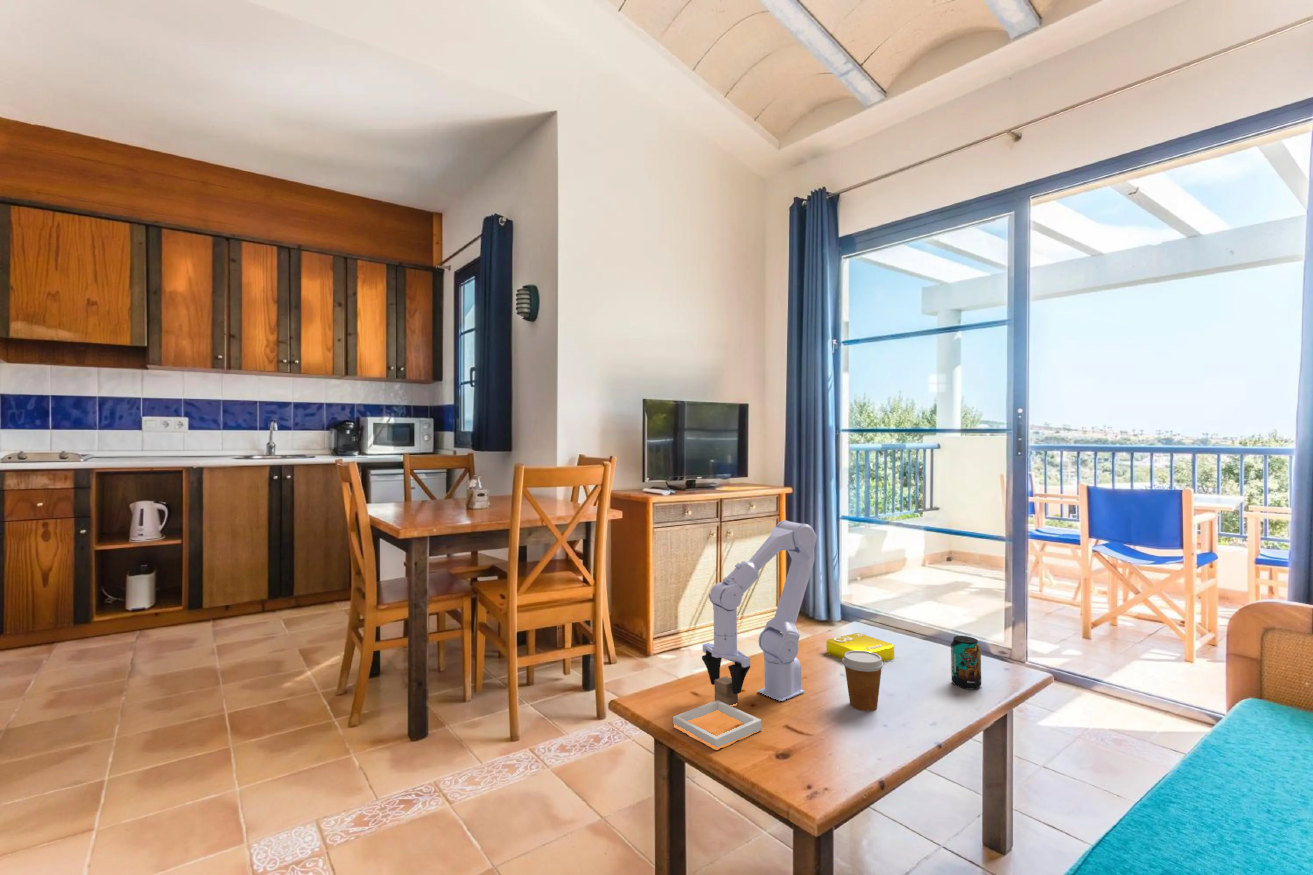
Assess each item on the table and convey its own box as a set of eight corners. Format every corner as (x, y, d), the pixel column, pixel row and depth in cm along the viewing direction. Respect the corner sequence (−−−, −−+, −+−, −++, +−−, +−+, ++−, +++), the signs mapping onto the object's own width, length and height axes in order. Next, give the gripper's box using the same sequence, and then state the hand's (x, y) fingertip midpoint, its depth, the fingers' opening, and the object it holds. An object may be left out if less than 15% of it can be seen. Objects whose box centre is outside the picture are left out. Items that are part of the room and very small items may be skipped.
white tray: (717, 710, 146) (717, 699, 146) (761, 731, 135) (761, 719, 135) (673, 727, 137) (672, 716, 137) (716, 751, 126) (716, 739, 126)
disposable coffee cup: (857, 716, 142) (857, 664, 142) (835, 700, 151) (834, 651, 151) (892, 711, 144) (891, 660, 145) (868, 695, 154) (867, 648, 154)
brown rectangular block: (726, 699, 152) (726, 675, 152) (737, 705, 149) (737, 680, 149) (714, 704, 150) (714, 679, 150) (726, 709, 146) (726, 684, 147)
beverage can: (978, 692, 155) (977, 645, 155) (949, 685, 159) (948, 640, 159) (983, 683, 160) (982, 637, 161) (954, 677, 165) (953, 633, 165)
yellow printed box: (861, 669, 173) (861, 652, 173) (823, 653, 186) (823, 638, 186) (897, 659, 180) (897, 643, 180) (858, 645, 193) (858, 630, 193)
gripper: (693, 629, 153) (694, 683, 152) (735, 643, 141) (735, 701, 141) (713, 624, 157) (714, 676, 157) (755, 637, 146) (756, 694, 146)
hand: (725, 688), depth 149 cm, fingers open, 7 cm apart
